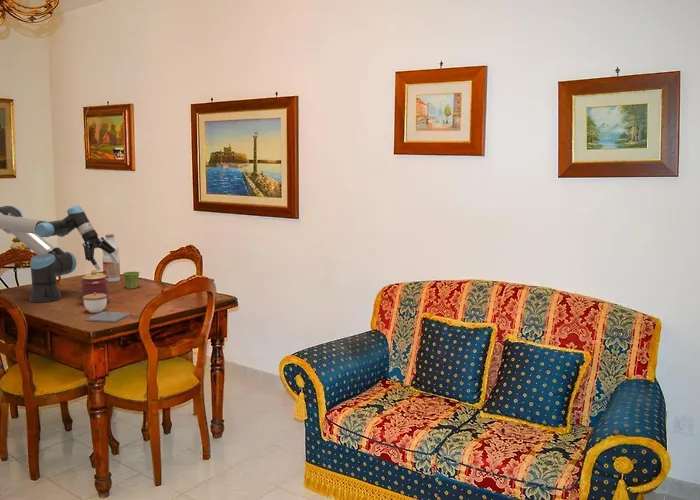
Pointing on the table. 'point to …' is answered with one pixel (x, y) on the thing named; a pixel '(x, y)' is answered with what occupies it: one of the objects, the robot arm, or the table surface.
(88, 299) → the lidded jar
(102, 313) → the slate board
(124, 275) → the plant pot
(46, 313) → the table surface
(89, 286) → the canister
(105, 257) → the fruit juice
